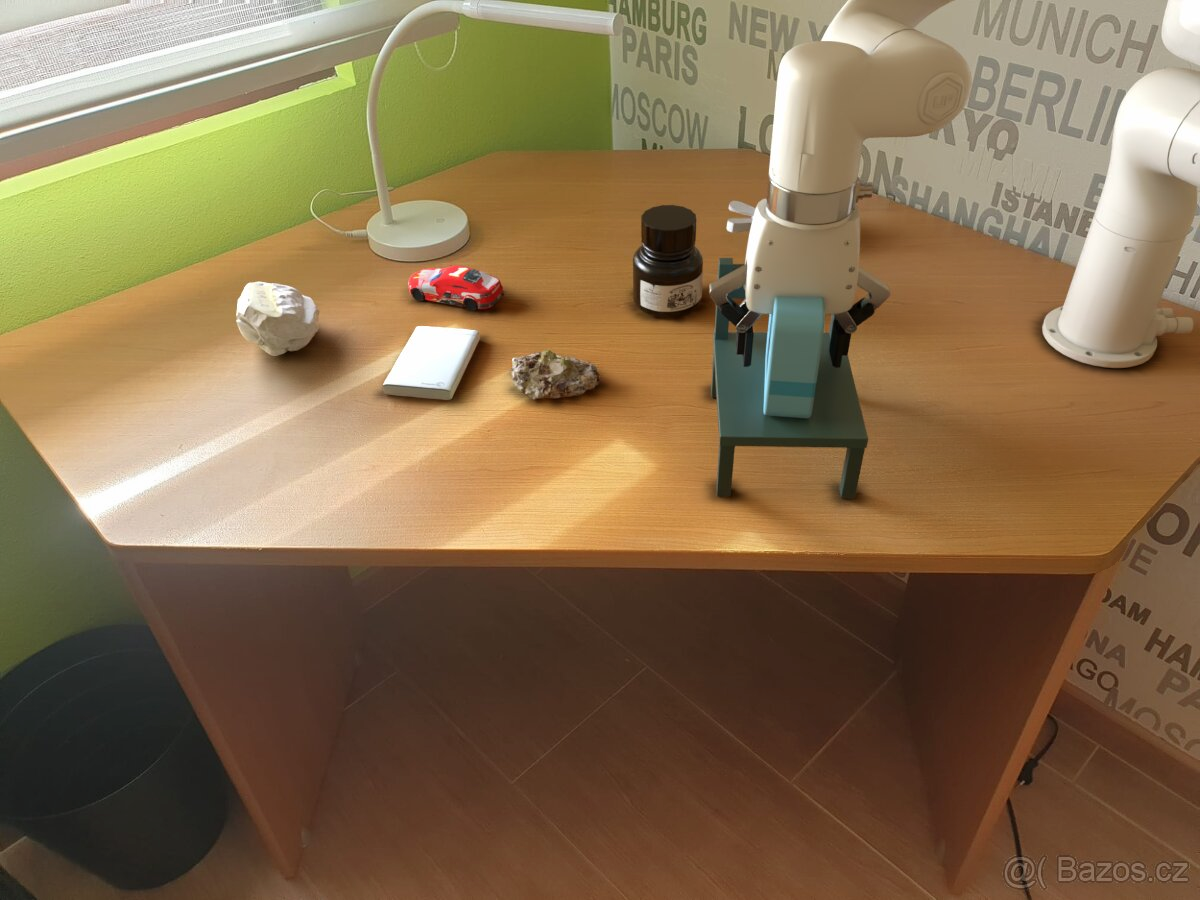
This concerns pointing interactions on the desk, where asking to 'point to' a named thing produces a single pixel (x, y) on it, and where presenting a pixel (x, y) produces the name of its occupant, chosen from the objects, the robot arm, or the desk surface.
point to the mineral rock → (552, 375)
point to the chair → (748, 426)
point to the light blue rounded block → (793, 355)
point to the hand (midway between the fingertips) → (790, 358)
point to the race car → (456, 287)
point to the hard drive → (432, 363)
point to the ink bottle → (667, 263)
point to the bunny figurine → (740, 223)
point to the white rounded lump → (276, 317)
